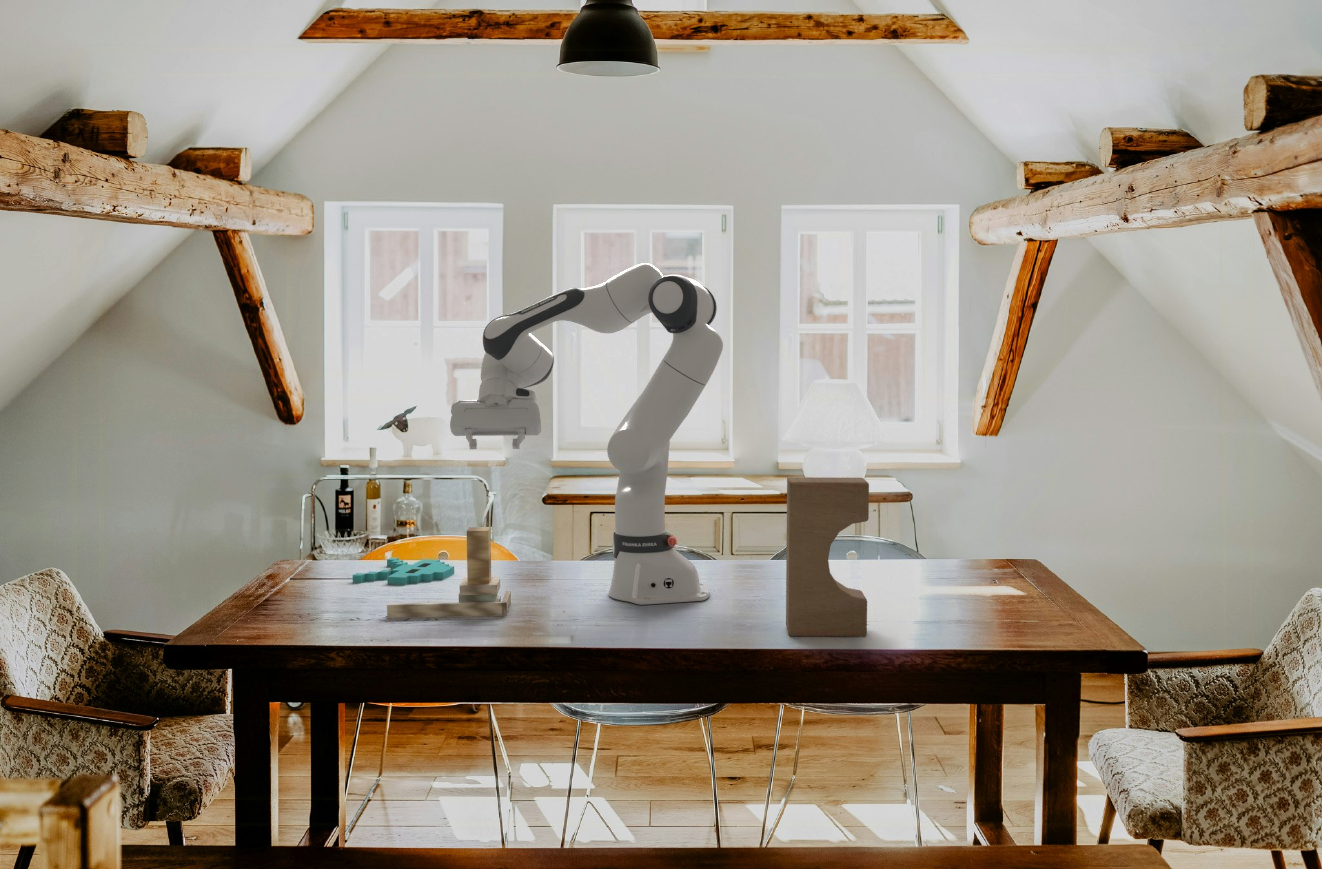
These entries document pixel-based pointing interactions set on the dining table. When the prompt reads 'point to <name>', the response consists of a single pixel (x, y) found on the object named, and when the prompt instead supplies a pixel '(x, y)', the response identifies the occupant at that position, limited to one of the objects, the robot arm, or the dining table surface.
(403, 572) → the alien figure
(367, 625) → the dining table surface
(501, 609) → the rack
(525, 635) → the dining table surface
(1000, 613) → the dining table surface
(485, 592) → the offcut stack
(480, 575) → the oak post
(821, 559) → the decorative block
